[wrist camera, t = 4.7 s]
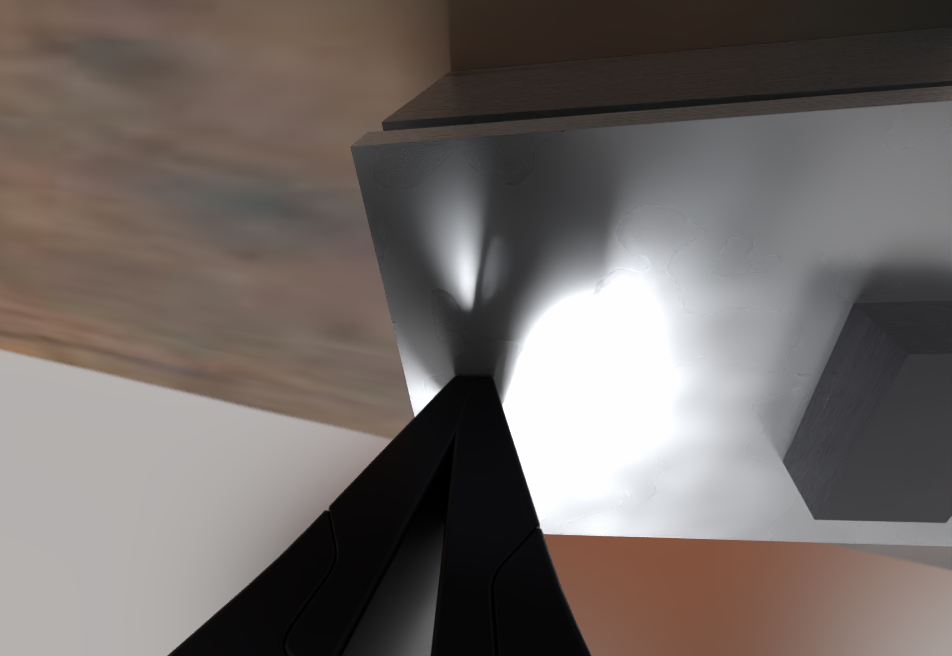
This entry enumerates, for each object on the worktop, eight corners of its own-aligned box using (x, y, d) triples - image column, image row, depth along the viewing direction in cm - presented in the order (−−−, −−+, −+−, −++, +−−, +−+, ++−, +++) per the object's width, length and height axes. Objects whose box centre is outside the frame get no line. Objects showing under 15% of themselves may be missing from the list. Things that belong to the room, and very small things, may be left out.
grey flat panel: (1383, 50, 5) (1766, 74, 4) (970, 513, 10) (1052, 609, 9) (367, 131, 7) (317, 174, 5) (446, 501, 12) (433, 581, 10)
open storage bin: (983, 24, 10) (1372, 49, 5) (837, 347, 15) (967, 509, 10) (450, 71, 12) (381, 121, 7) (480, 344, 17) (451, 479, 12)
